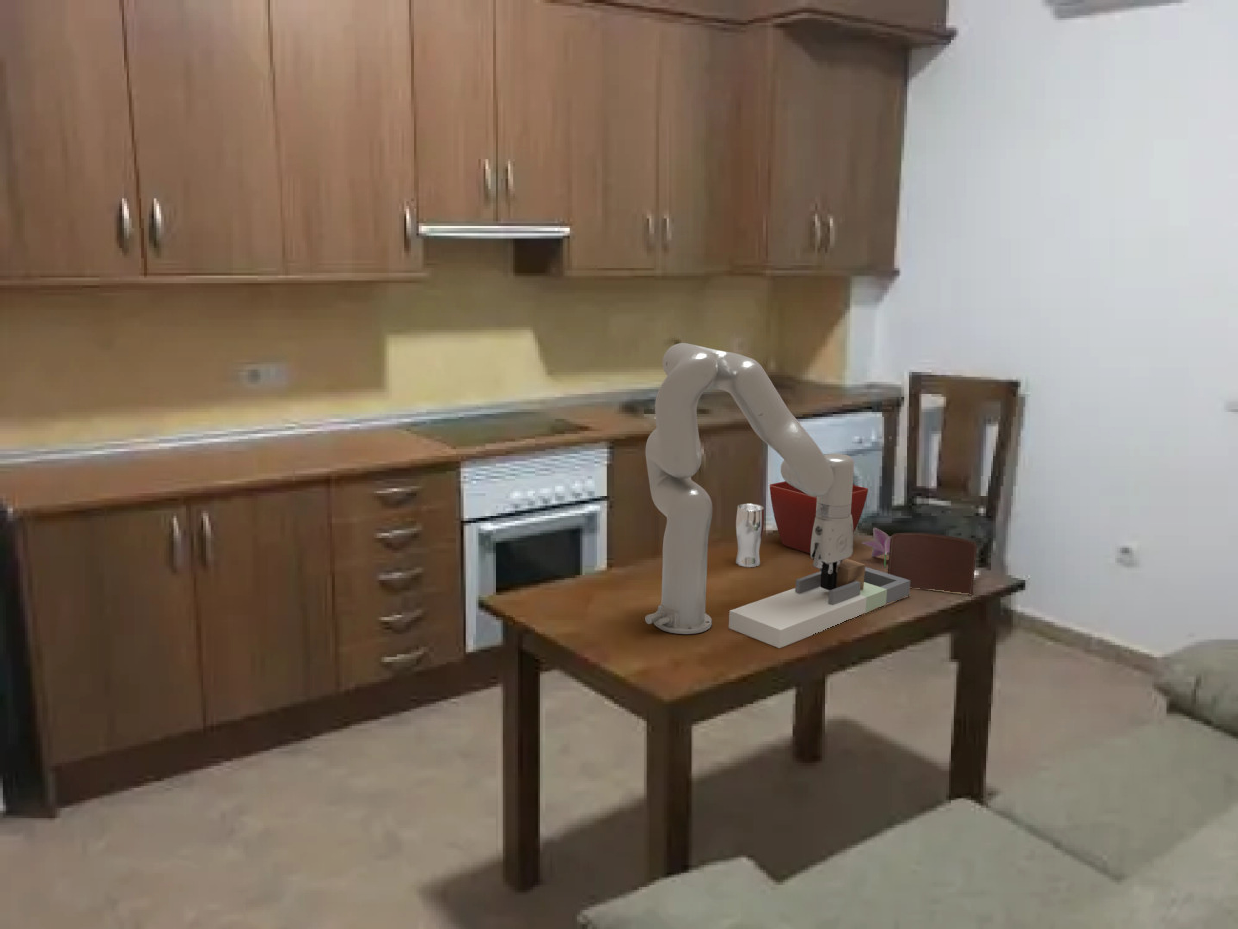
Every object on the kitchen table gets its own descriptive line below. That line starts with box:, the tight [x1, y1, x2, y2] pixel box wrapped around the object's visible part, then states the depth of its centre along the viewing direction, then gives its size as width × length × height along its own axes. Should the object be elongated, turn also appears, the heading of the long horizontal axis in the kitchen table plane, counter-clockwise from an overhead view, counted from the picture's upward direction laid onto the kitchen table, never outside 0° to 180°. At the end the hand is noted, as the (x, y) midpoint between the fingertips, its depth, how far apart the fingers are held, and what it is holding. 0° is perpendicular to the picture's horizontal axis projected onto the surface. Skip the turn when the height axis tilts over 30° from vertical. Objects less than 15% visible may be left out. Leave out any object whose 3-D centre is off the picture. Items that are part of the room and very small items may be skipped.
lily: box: [861, 527, 892, 568], centre depth 270 cm, size 12×12×10 cm
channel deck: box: [728, 566, 911, 649], centre depth 236 cm, size 48×14×7 cm, turn 132°
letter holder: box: [887, 532, 978, 595], centre depth 254 cm, size 10×20×14 cm, turn 72°
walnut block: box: [836, 558, 866, 590], centre depth 239 cm, size 6×6×6 cm
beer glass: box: [735, 503, 765, 568], centre depth 267 cm, size 7×7×15 cm
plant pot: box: [769, 480, 869, 555], centre depth 282 cm, size 19×19×17 cm
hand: (828, 588), depth 236 cm, fingers closed
